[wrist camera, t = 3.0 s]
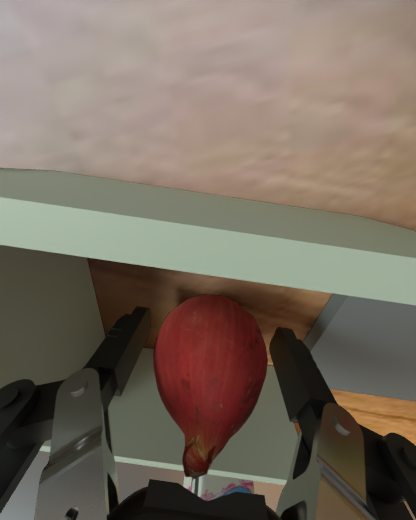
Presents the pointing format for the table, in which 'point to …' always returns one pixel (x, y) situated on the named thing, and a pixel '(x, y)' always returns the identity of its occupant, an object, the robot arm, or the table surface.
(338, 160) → the table surface
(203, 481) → the ink box
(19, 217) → the cubby
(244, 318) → the onion
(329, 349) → the tile
